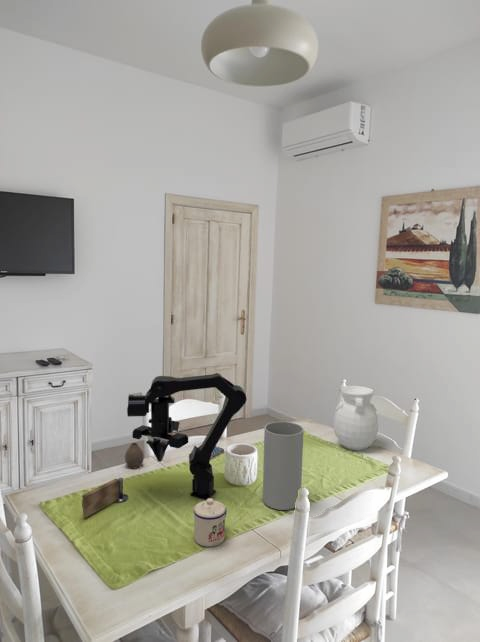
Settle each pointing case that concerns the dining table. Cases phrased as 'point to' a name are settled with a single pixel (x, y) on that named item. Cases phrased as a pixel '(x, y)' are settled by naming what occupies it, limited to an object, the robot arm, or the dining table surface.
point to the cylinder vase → (282, 464)
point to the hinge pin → (121, 492)
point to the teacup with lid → (209, 523)
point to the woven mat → (216, 452)
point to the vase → (134, 456)
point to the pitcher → (356, 418)
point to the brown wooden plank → (100, 497)
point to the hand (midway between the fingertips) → (160, 461)
